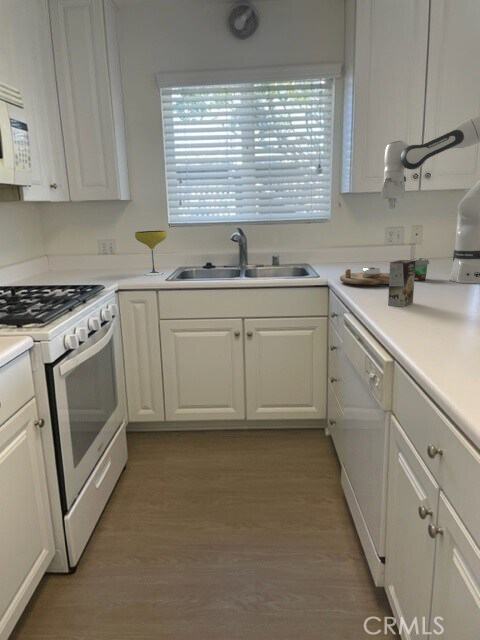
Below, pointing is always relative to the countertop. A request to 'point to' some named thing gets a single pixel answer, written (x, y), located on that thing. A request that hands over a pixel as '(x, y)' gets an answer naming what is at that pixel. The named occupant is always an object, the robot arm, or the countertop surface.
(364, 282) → the turntable
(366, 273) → the cover
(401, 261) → the coffee box
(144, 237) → the cocktail glass
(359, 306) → the countertop surface
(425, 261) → the food container
